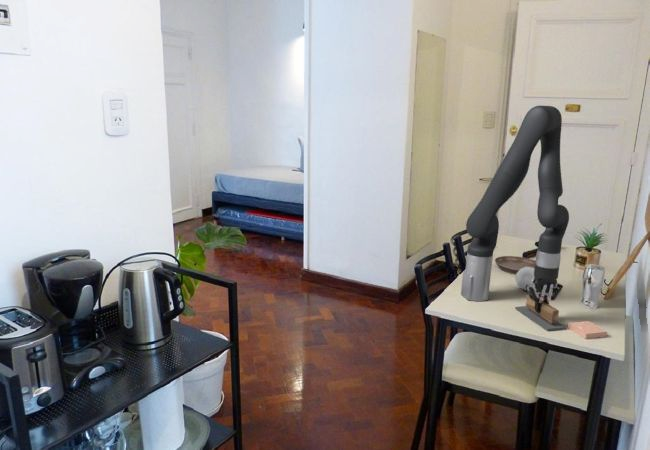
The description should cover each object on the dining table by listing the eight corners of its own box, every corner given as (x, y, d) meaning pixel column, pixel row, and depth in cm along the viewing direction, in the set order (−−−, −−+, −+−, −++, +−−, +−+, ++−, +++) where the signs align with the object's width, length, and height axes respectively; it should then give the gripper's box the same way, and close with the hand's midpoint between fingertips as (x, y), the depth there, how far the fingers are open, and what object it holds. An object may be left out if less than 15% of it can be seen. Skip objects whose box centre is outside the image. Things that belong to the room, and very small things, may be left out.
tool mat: (547, 331, 163) (547, 328, 163) (515, 308, 180) (515, 306, 180) (565, 329, 165) (566, 327, 165) (532, 307, 182) (532, 305, 182)
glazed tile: (567, 328, 166) (585, 340, 159) (568, 323, 166) (586, 333, 158) (588, 326, 168) (606, 337, 161) (589, 321, 168) (607, 331, 160)
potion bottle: (519, 287, 205) (544, 305, 192) (505, 276, 201) (531, 294, 188) (533, 269, 204) (560, 286, 191) (520, 258, 200) (547, 275, 187)
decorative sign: (552, 249, 255) (554, 230, 253) (556, 250, 254) (559, 231, 251) (522, 258, 240) (524, 238, 237) (526, 259, 238) (528, 239, 235)
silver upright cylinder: (580, 300, 190) (586, 262, 186) (601, 305, 186) (607, 266, 182) (576, 305, 185) (582, 267, 181) (597, 310, 180) (603, 271, 177)
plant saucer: (532, 262, 233) (533, 256, 232) (551, 278, 213) (552, 271, 212) (488, 261, 233) (489, 255, 233) (502, 277, 213) (503, 269, 213)
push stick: (551, 323, 165) (553, 311, 164) (525, 306, 178) (527, 294, 177) (557, 322, 166) (558, 310, 165) (531, 305, 179) (532, 294, 178)
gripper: (536, 268, 162) (530, 317, 167) (572, 266, 166) (565, 314, 170) (522, 261, 170) (516, 308, 174) (557, 259, 173) (551, 305, 177)
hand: (541, 311), depth 172 cm, fingers closed on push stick, 2 cm apart
